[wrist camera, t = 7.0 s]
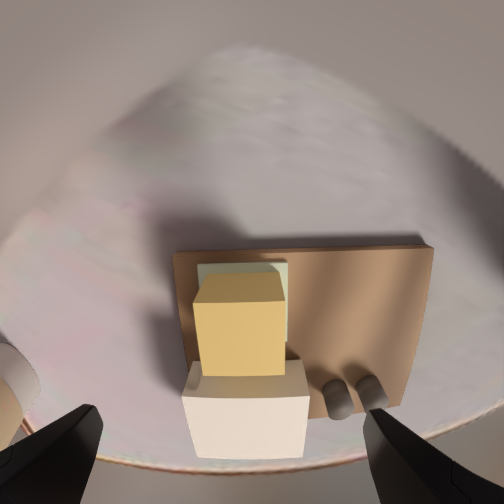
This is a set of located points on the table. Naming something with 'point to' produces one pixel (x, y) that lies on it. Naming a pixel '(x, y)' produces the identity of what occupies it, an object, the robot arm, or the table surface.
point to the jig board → (336, 318)
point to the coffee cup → (14, 391)
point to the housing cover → (247, 413)
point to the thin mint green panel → (248, 268)
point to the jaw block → (241, 324)
